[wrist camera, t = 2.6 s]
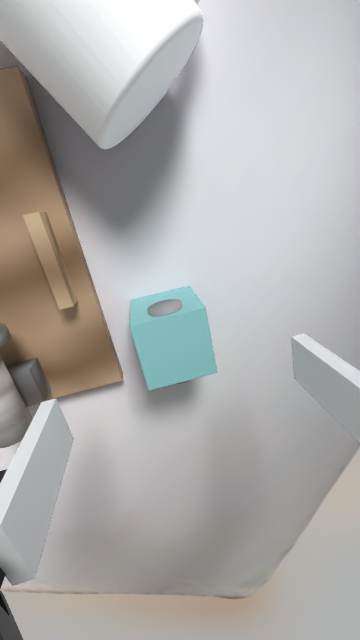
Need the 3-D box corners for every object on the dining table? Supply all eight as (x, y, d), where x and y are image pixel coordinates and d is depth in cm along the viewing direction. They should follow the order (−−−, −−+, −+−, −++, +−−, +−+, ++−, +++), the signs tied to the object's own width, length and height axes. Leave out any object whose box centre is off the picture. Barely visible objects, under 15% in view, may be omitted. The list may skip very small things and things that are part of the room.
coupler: (129, 296, 23) (128, 321, 18) (188, 282, 24) (204, 303, 18) (146, 354, 25) (149, 394, 20) (200, 341, 26) (217, 376, 20)
